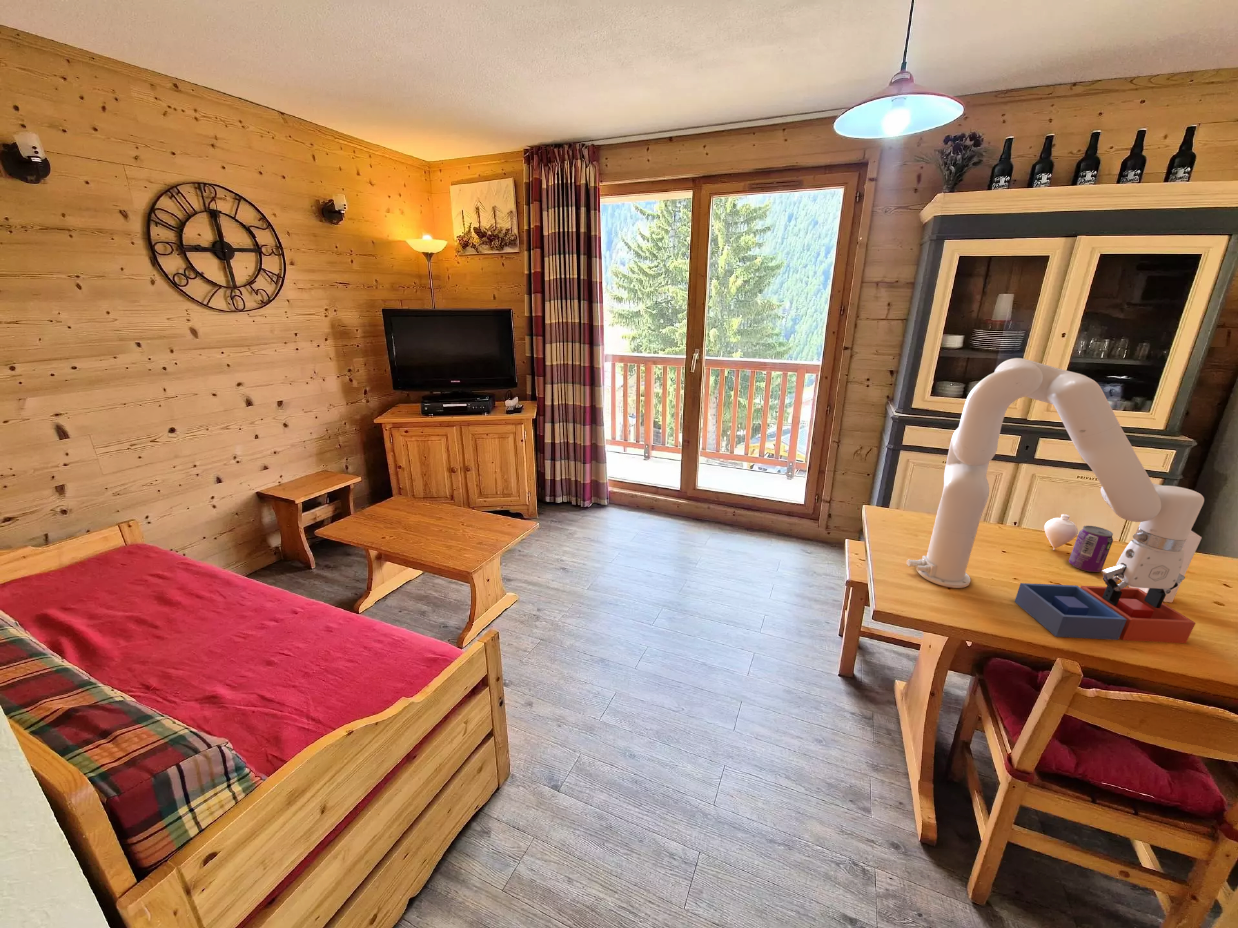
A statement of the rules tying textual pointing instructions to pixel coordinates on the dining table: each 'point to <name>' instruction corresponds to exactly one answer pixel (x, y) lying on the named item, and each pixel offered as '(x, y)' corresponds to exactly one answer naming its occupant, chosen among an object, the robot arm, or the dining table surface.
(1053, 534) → the spinning top
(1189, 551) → the milk
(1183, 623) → the red bin
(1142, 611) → the red block
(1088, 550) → the beverage can
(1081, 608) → the blue block
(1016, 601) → the blue bin
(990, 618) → the dining table surface
